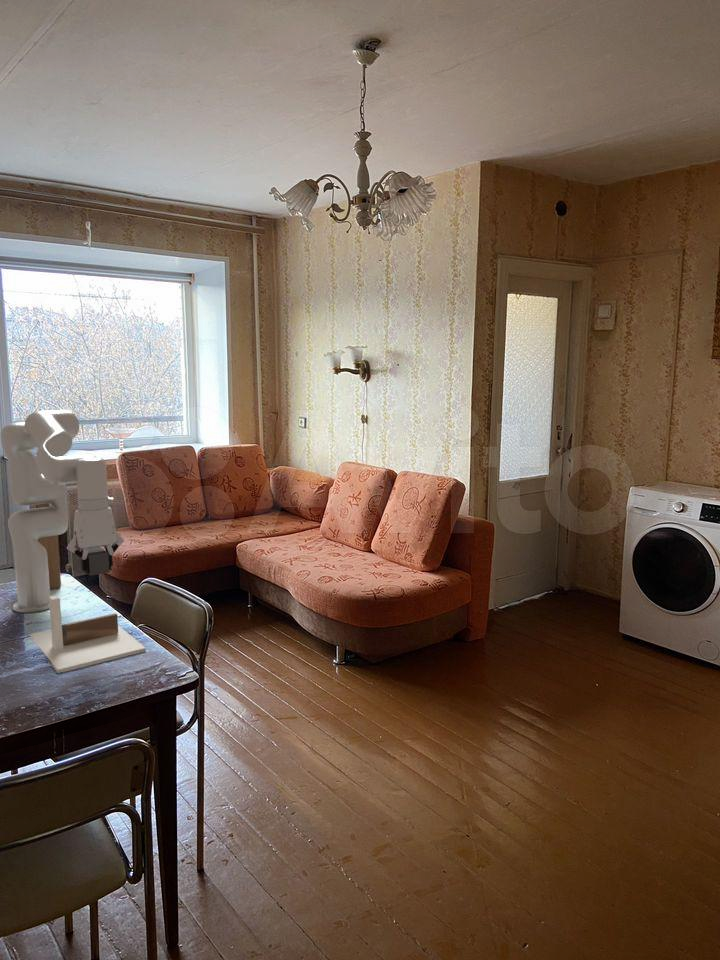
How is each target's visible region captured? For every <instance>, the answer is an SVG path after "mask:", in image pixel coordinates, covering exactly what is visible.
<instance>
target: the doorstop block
mask: <svg viewBox="0 0 720 960" xmlns="http://www.w3.org/2000/svg"><path fill="white" fill-rule="evenodd" d="M87 559H88V560H89V571H90V573H89V574H88V576H91V577H92V576H97V575H102V574H109V573H110V570H109V556H108V552H107V551H106V550H105V549H103V548H101V546H100V547H93V548H89V550H88V554H87ZM80 565H81V564H80ZM81 568H82V565H81Z"/></svg>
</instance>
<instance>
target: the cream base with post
mask: <svg viewBox="0 0 720 960" xmlns="http://www.w3.org/2000/svg"><path fill="white" fill-rule="evenodd" d="M49 605H50V608H49V614H50V615H49V616H50V617H49V618H50V629H47V630H42V631H37V632H31V633H28V636H29V637H30V638H31V639H32V641H33V642H34V643H35V644H36V646H38V648H39V649H40V651H42V653H43V654H44V655H45V657H47V658H48V660H47V662H48V663H49V664H50V665H51V667H52V668H53V669H54V670H55V672H56V673H57V674H61V672H62V673H66V672H69V671H73V670H77V669H80V668H81V669H82V668H85V667H89V666H94V665H97V664H101V663H105V662H108V661H113V660H116V659H120V658H124V657H128V655H129V656H132V655H136V653H137V654H140V653H144V652H146V647H145V646H144V645H143V644H141V643H140V642H139V641H138V640H137V639H135V638H134V637H133V636H132V635H130V634H129V633H128V632H127V631H126V630H124V629H123V628H122V627H121V626H120V625H118V633H116V634H112V635H108V636H103V637H99V638H95V639H90V640H86V641H82V642H77V643H73V644H69V645H63V636H62V625H63V624H62V612H61V610H62V607H61V598H60V597H59V596H58V595H52V596H51V595H50V597H49Z"/></svg>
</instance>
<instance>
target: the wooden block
mask: <svg viewBox="0 0 720 960" xmlns="http://www.w3.org/2000/svg"><path fill="white" fill-rule="evenodd" d="M58 536H59V535H55V536H49V537H43V538H39V539H38V542H39V543H40V544H41V545H43V546H44V548H45V549H46V551H47V558H48V571H49V585H50V590H53V589H54V588H56V589H59V588H61V586H62V579H61V566H60V563H61V562H60V552H59V551H60V550H59V539H58V538H59V537H58Z"/></svg>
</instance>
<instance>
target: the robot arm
mask: <svg viewBox="0 0 720 960" xmlns="http://www.w3.org/2000/svg"><path fill="white" fill-rule="evenodd" d="M79 431H80V421H79V418H78V417H77V415H76V414H75V413H74V412H73V411H71V410H69V409H55V410H54V409H52V410H50V409H49V410H47V409H46V410H37V411H34V412H32V413H30V414H28V415H27V417H26V418H25V420H24V421H18V422H11V423H8V424H6V425H4V426H3V427H2V428H1V430H0V442H1V446H2V449H3V451H4V454H5V456H6V459H7V462H8V472H9V484H10V485H9V487H10V493H11V494H10V495H11V499H12V502H13V503H14V504H15V505H16V506H20V507H25V506H26V507H27V506H37V505H42V504H48V505H49V506H45V507H44V506H43V507H37V508H36V507H35V508H27V509H23V510H18V511H15V512H13V513H12V514H11V515H10V516H9V517H8V521H7V527H8V531H9V535H10V538H11V542H12V543H11V544H12V548H13V559H14V572H15V582H16V583H15V584H16V597H17V601H16V602H14V603H13V605H12V610H13V611H15V612H17V613H24V614H25V613H37V612H42V611H45V610H50V605H49V597H51V589H50V585H49V571H48V558H47V551H46V549H45V548H44V546H43V545H41V544H40V543H39V542H38V539H39V538H43V537H49V536H55V535H58V536H59V535H63V534H65V533H66V532H67V530H68V527H69V509H68V495H67V494H68V493H67V485H70V484H76V490H77V491H76V492H77V493H76V494H77V507H78V509H76V510H75V511H74V516H73V517H74V518H73V538H72V539H71V541H70V542H69V543H68V544H67V546H66V549H67V550H68V551H70V552H71V553H73V554H75V555H76V556H77V557H79V558H80V565H82V567H81V570H82V571H83V573H85V574H86V575H89V573H90V571H89V560H88V559H87V554H88V550H89V548H94V547H100V548H101V547H104V550H105V551H107V552H108V556H109V571H111V570H112V567H113V565H114V561H113V559H114V558H113V556H114V554H115V552H116V551H117V549H119V547H120V546H121V545H122V544H124V542H125V539H124V538H123V537H122V536H121V535H120V534H119V533H118V531H117V530H116V524H115V518H114V514H113V511H112V508H111V506H110V504H114V502H115V500H114V498H113V497H109V492H108V475H107V472H108V471H107V462H106V460H105V459H104V458H102V457H97V456H96V455H93V454H87V453H86V454H85V453H84V454H72V455H71V454H70V455H66V454H68V452H69V451H70V450H71V448H72V446H73V440H74V439H75V438H76V437H77V435H78V434H79ZM32 450H37V451H36V453H34V452H33V451H32ZM76 546H78V548H80V550H79V549H78V548H75V547H76Z"/></svg>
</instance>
